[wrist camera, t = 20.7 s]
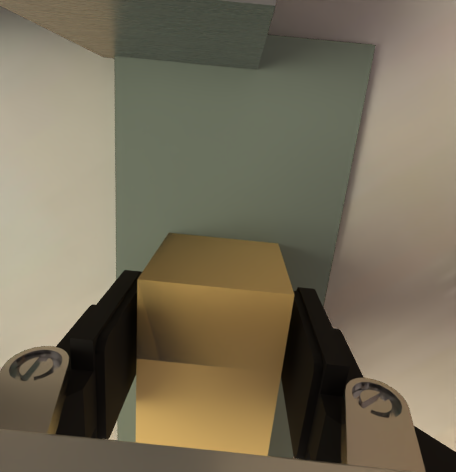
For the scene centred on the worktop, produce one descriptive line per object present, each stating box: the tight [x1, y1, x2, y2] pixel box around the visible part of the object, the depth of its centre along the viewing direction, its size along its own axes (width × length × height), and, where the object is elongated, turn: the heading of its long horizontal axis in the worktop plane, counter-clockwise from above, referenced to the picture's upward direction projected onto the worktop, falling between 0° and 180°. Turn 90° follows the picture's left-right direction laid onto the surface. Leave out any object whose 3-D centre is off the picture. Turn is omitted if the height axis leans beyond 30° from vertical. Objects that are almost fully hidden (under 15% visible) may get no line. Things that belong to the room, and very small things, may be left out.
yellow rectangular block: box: [136, 233, 294, 456], centre depth 13 cm, size 15×4×4 cm, turn 175°
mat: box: [115, 35, 375, 458], centre depth 13 cm, size 18×8×1 cm, turn 175°
